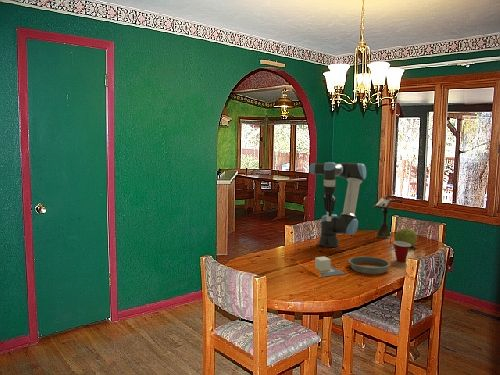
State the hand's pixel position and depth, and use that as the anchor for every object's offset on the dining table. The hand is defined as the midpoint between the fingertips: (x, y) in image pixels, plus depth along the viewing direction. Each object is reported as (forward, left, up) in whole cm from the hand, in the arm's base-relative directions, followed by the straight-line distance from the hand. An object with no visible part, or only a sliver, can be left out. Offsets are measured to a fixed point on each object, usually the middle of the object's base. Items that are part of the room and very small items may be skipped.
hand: (328, 220), depth 281 cm
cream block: (+21, -17, -18) cm, 33 cm away
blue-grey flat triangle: (+15, -17, -26) cm, 34 cm away
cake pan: (+28, +12, -26) cm, 40 cm away
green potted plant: (-5, +71, -26) cm, 75 cm away
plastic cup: (+23, +42, -26) cm, 54 cm away
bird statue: (-34, +74, -26) cm, 85 cm away
